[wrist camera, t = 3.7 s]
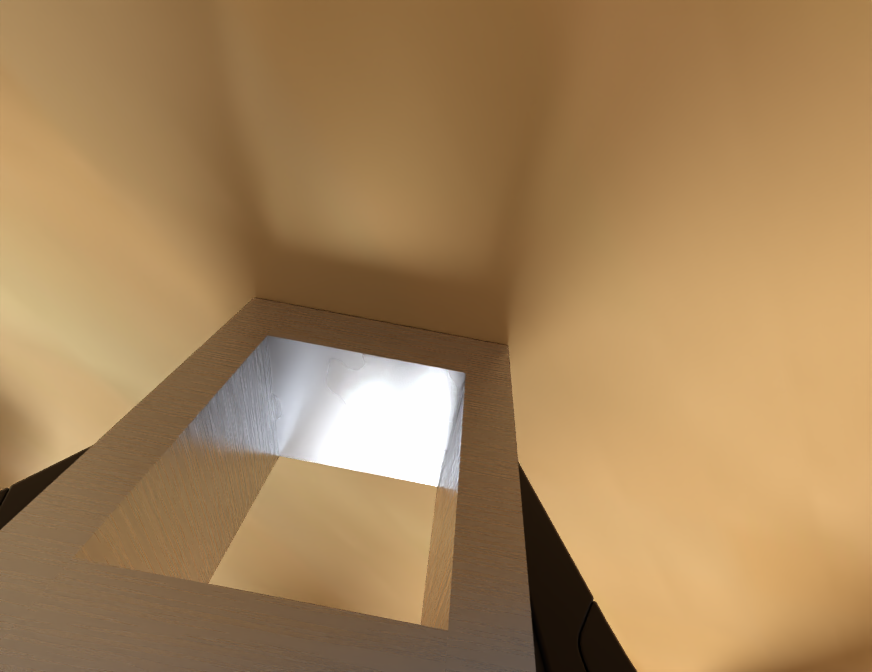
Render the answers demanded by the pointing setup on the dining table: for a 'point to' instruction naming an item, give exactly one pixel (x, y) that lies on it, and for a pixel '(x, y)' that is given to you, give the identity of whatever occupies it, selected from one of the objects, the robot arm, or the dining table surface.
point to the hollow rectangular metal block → (238, 488)
